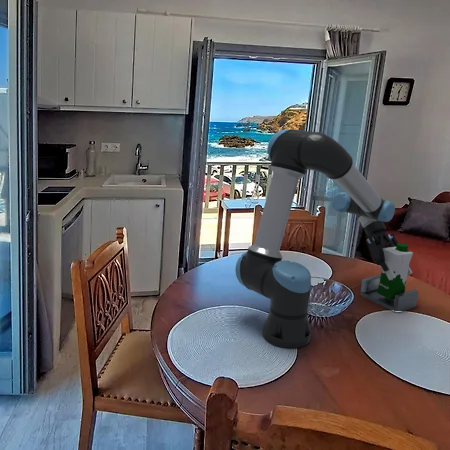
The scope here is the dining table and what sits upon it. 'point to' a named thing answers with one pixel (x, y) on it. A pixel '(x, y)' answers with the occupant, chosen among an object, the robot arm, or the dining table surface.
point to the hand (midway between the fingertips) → (401, 276)
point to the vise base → (397, 304)
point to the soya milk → (395, 271)
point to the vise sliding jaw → (370, 283)
